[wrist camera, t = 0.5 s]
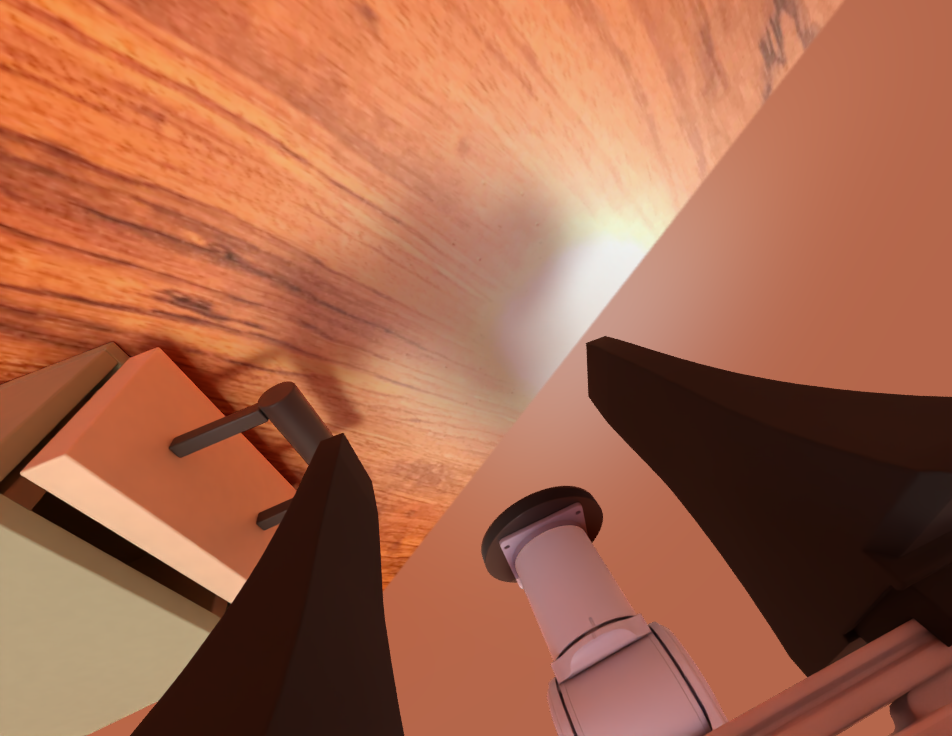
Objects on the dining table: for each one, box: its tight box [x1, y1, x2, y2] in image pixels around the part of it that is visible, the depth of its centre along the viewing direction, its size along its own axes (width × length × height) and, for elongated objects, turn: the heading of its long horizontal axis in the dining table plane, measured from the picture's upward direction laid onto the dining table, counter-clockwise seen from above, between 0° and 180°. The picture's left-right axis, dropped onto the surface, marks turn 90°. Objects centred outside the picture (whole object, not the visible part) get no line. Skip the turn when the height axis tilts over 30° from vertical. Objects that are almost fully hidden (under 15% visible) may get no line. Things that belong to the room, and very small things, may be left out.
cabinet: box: [0, 342, 231, 736], centre depth 14 cm, size 13×11×8 cm
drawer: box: [0, 347, 333, 618], centre depth 15 cm, size 17×10×6 cm, turn 107°
